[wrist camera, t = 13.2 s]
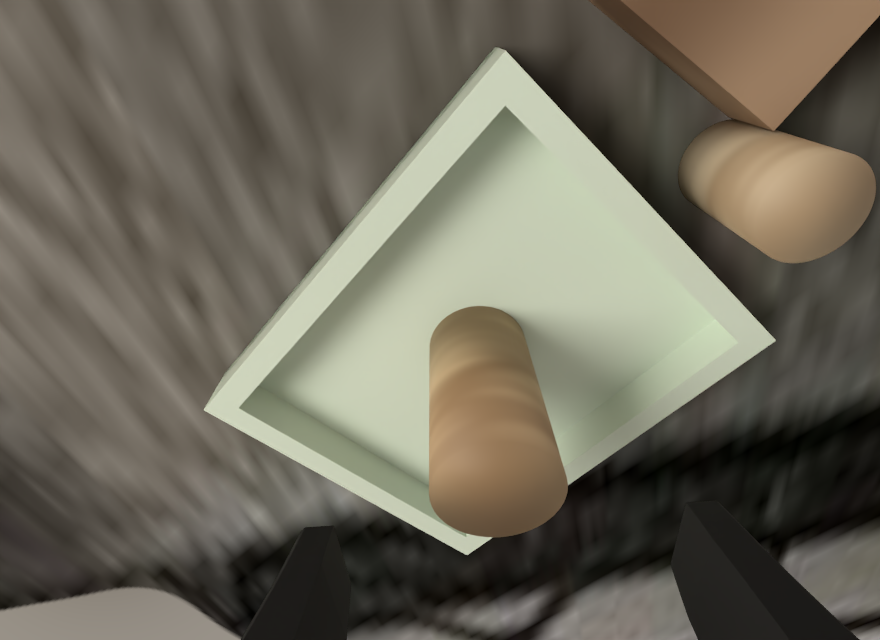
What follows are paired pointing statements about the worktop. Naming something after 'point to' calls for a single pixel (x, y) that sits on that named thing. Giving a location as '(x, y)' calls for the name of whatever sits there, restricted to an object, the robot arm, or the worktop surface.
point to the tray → (487, 303)
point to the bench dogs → (777, 189)
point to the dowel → (489, 428)
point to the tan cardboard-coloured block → (747, 46)
